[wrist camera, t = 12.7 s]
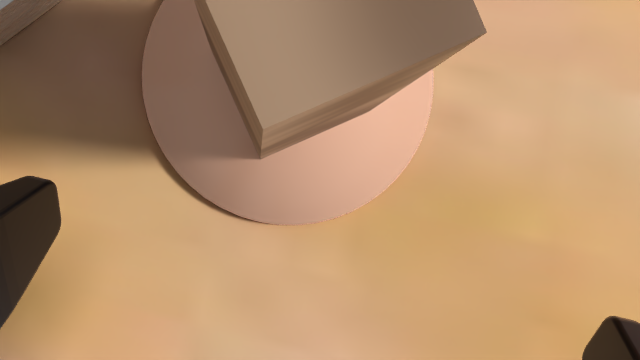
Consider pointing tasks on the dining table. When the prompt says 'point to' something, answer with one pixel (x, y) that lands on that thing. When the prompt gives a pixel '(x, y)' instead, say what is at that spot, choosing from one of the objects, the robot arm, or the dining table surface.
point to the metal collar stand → (20, 15)
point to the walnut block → (327, 57)
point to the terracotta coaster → (238, 149)
